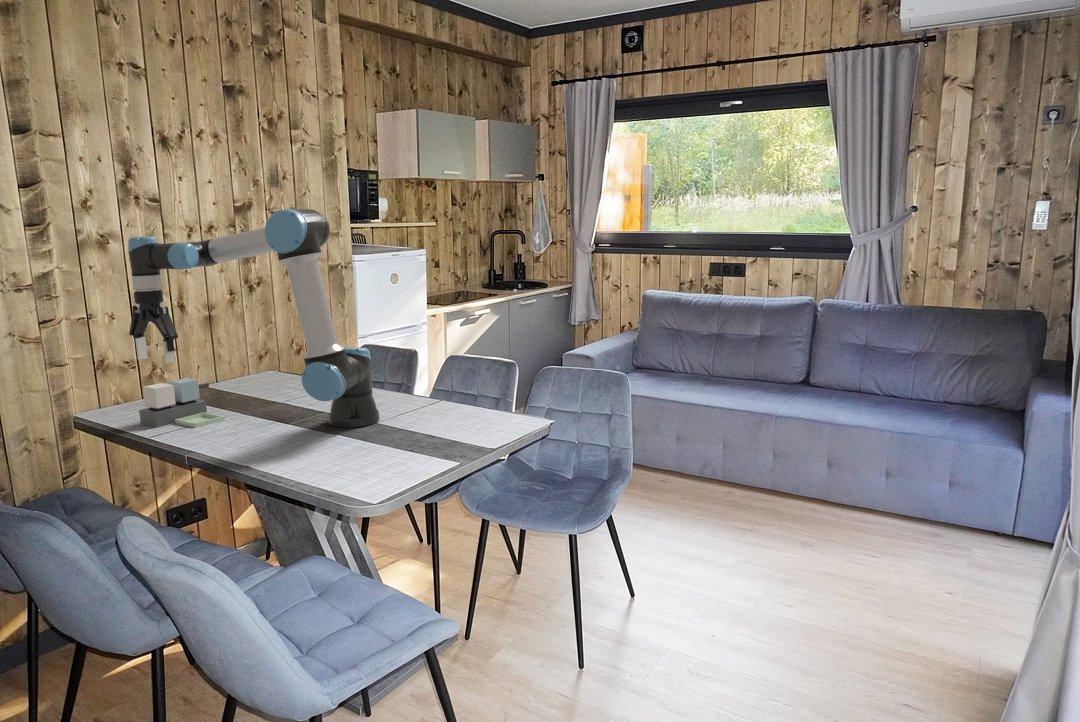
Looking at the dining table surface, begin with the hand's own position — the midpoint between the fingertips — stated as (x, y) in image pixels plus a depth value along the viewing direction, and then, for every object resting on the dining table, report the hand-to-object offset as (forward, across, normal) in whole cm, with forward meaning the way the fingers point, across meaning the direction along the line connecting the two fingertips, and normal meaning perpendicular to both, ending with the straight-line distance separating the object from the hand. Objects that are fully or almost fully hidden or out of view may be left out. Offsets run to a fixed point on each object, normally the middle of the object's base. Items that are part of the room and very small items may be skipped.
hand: (156, 360), depth 227 cm
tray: (+20, -9, -6) cm, 23 cm away
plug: (+19, 0, 0) cm, 19 cm away
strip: (+20, +1, -6) cm, 21 cm away
